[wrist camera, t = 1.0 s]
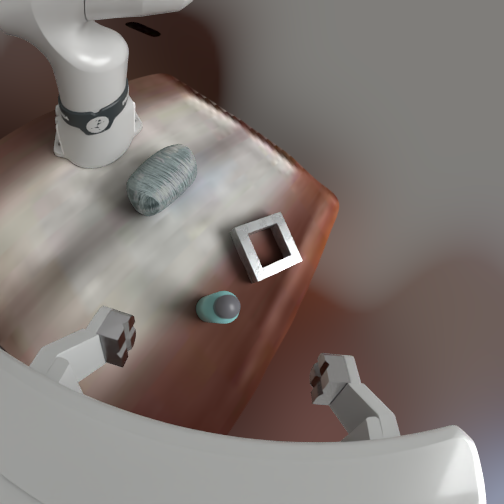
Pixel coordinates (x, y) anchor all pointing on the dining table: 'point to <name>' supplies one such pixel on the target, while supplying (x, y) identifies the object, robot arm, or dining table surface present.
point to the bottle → (218, 307)
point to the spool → (161, 179)
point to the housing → (249, 255)
